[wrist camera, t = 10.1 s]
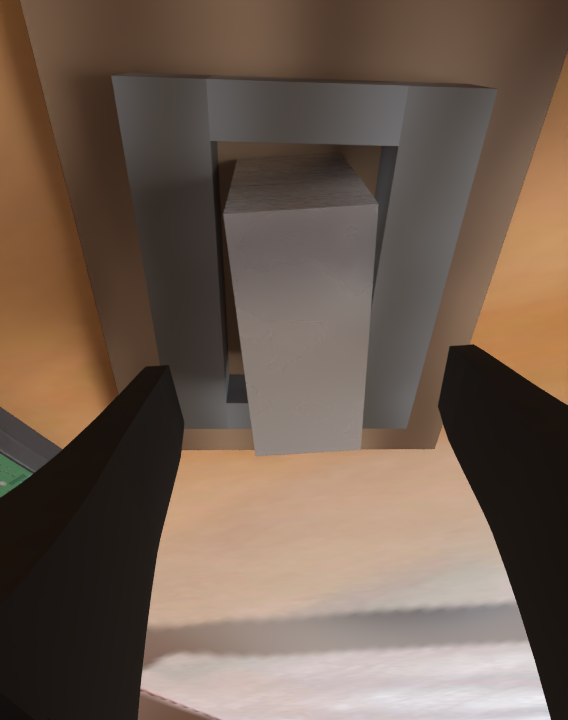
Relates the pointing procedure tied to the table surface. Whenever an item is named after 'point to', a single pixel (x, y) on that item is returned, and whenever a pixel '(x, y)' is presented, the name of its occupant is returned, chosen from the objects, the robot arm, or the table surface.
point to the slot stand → (286, 138)
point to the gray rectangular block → (302, 298)
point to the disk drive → (21, 451)
